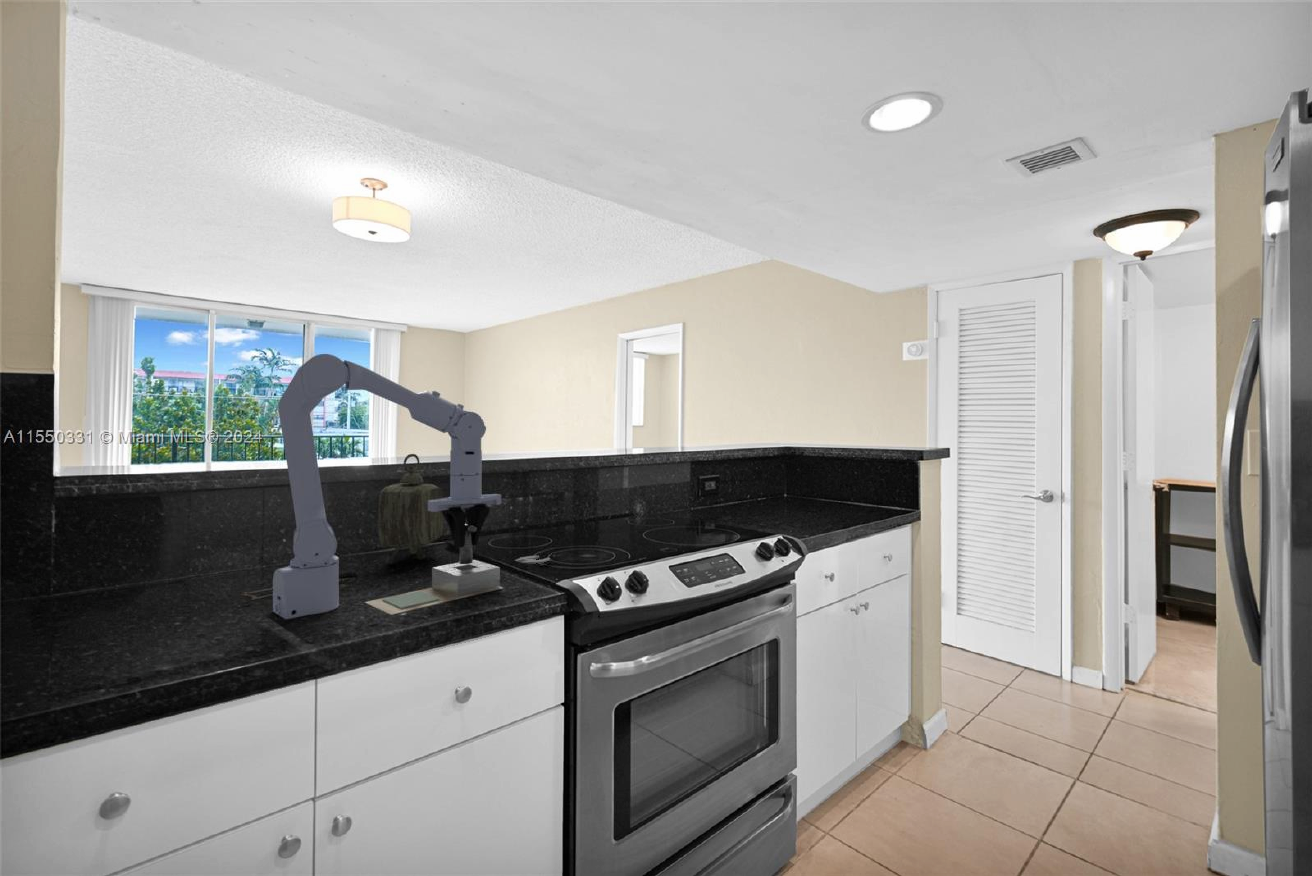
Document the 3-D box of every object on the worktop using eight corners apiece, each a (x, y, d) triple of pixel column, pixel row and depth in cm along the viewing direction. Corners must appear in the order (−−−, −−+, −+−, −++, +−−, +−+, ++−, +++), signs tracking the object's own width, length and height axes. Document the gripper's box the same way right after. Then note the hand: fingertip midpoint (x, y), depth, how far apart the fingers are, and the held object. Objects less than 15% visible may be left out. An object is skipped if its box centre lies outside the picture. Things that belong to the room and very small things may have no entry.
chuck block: (457, 597, 112) (457, 576, 112) (432, 588, 118) (432, 567, 118) (499, 587, 119) (499, 567, 119) (473, 579, 125) (473, 559, 125)
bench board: (391, 621, 102) (391, 614, 102) (364, 608, 109) (364, 602, 109) (503, 594, 119) (503, 587, 119) (474, 584, 125) (474, 578, 125)
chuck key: (469, 566, 115) (469, 527, 115) (453, 561, 119) (453, 523, 119) (480, 564, 117) (480, 525, 117) (464, 559, 121) (464, 521, 120)
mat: (401, 609, 105) (401, 607, 105) (382, 600, 110) (382, 599, 110) (439, 600, 110) (439, 598, 110) (419, 592, 115) (419, 591, 115)
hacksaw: (356, 575, 133) (356, 568, 133) (375, 584, 126) (375, 577, 126) (221, 598, 115) (221, 590, 115) (235, 610, 108) (235, 602, 108)
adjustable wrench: (439, 582, 129) (439, 573, 129) (432, 575, 135) (432, 567, 134) (552, 566, 142) (552, 559, 142) (541, 561, 148) (541, 553, 148)
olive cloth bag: (410, 552, 154) (410, 451, 153) (445, 553, 153) (445, 452, 152) (378, 566, 139) (377, 455, 138) (416, 567, 138) (416, 456, 138)
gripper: (442, 478, 109) (441, 554, 110) (510, 473, 120) (510, 542, 121) (421, 475, 114) (422, 548, 115) (489, 471, 125) (489, 537, 126)
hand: (465, 545), depth 118 cm, fingers closed on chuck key, 2 cm apart
